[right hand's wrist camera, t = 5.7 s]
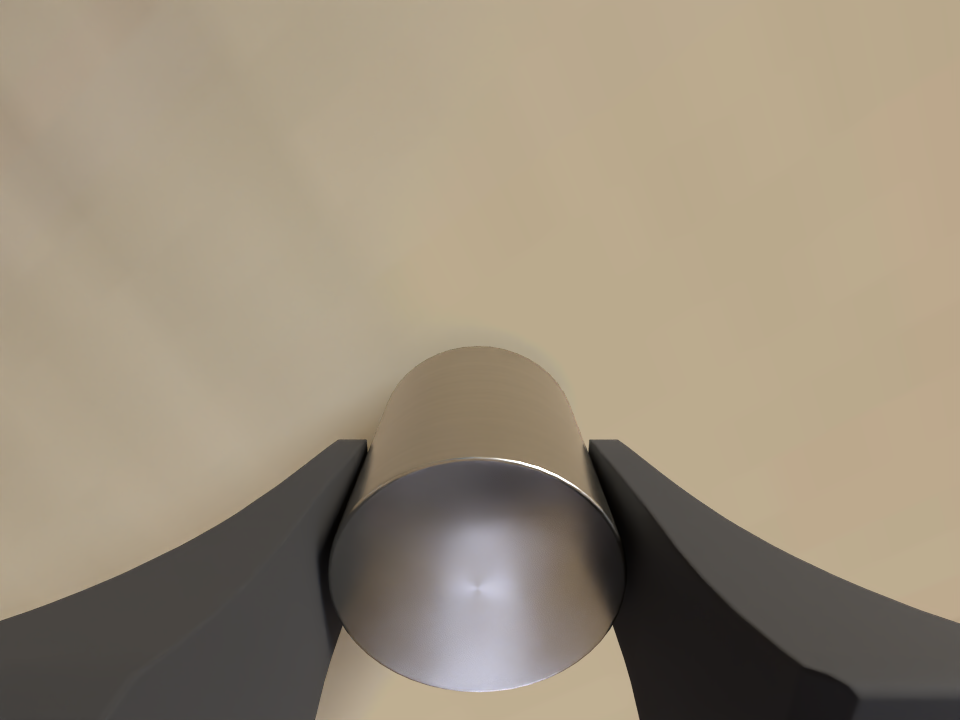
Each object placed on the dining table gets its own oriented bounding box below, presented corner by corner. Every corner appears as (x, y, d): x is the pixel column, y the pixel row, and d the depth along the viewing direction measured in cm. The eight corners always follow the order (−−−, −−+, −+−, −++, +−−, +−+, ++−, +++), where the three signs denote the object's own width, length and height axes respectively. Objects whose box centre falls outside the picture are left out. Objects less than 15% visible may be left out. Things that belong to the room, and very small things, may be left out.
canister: (476, 303, 12) (474, 394, 7) (613, 434, 13) (690, 586, 8) (343, 436, 13) (264, 590, 8) (479, 544, 14) (480, 732, 9)
